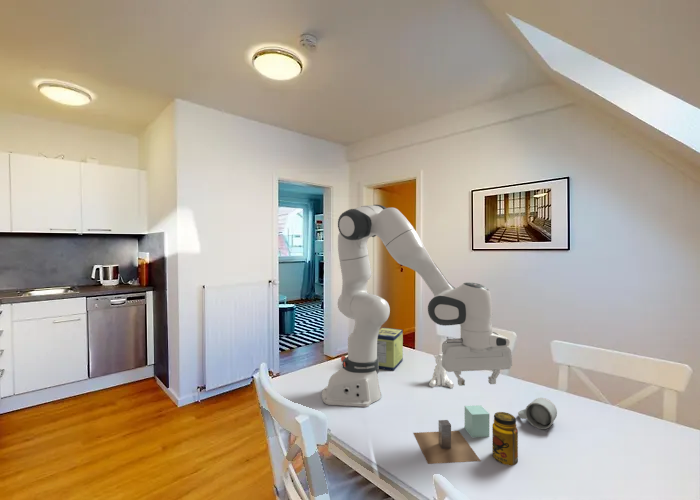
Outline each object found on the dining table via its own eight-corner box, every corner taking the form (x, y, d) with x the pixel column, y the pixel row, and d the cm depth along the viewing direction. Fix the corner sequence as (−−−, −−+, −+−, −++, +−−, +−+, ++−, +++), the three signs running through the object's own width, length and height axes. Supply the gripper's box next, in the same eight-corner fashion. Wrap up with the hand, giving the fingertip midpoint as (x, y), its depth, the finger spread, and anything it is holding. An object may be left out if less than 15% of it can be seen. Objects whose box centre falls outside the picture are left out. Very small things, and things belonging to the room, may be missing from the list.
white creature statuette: (429, 387, 132) (429, 357, 132) (427, 378, 140) (427, 350, 140) (454, 388, 131) (454, 358, 130) (450, 379, 139) (450, 351, 139)
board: (427, 467, 84) (427, 463, 84) (413, 436, 98) (413, 432, 98) (480, 464, 85) (480, 460, 85) (459, 434, 99) (459, 430, 99)
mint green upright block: (472, 440, 96) (472, 414, 95) (464, 430, 101) (464, 405, 101) (489, 439, 96) (489, 413, 96) (480, 429, 101) (481, 405, 101)
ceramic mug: (558, 422, 105) (558, 398, 105) (552, 433, 99) (552, 407, 99) (522, 412, 113) (522, 389, 113) (514, 421, 107) (514, 397, 107)
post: (441, 448, 90) (441, 425, 90) (438, 443, 93) (438, 420, 93) (451, 448, 90) (451, 424, 90) (447, 442, 93) (447, 419, 93)
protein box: (403, 360, 163) (403, 329, 163) (394, 371, 149) (394, 337, 149) (382, 357, 167) (382, 327, 167) (372, 368, 153) (372, 334, 153)
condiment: (486, 462, 86) (487, 416, 86) (496, 447, 93) (497, 404, 92) (517, 474, 81) (517, 426, 81) (525, 458, 88) (525, 413, 88)
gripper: (445, 342, 94) (446, 390, 94) (515, 339, 95) (515, 387, 95) (438, 336, 100) (438, 381, 100) (503, 333, 101) (503, 378, 102)
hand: (476, 384), depth 98 cm, fingers open, 8 cm apart
